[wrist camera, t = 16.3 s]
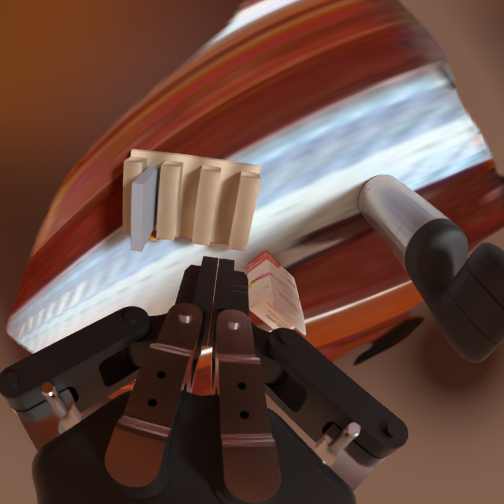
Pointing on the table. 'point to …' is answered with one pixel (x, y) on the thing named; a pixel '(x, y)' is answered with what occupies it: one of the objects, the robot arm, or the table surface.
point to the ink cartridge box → (274, 294)
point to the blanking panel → (144, 206)
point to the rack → (197, 197)
